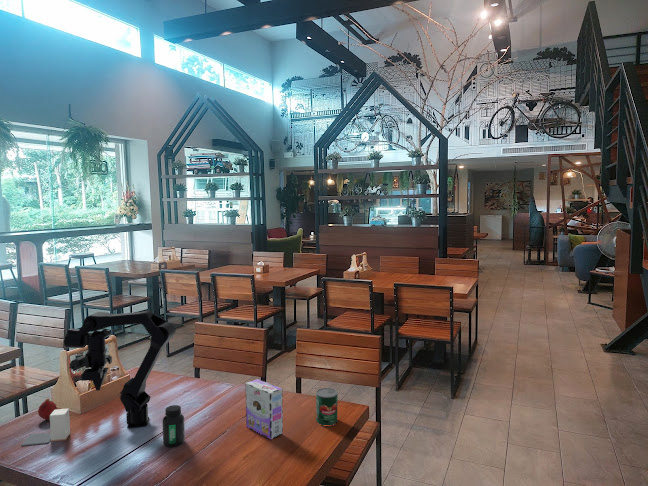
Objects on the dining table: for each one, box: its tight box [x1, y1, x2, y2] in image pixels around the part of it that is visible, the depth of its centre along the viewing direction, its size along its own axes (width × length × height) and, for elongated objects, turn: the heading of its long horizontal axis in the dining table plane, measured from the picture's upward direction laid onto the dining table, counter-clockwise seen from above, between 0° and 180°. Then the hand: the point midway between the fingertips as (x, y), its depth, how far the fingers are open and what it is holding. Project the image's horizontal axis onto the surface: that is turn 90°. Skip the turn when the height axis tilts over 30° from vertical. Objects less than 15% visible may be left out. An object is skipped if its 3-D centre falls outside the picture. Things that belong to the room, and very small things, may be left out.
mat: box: [21, 432, 52, 447], centre depth 153 cm, size 8×7×1 cm
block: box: [49, 407, 71, 442], centre depth 154 cm, size 4×4×9 cm
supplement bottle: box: [162, 404, 186, 449], centre depth 151 cm, size 7×7×12 cm
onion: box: [37, 397, 58, 421], centre depth 167 cm, size 6×6×8 cm
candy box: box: [245, 378, 284, 440], centre depth 159 cm, size 14×6×16 cm, turn 47°
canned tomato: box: [315, 387, 339, 426], centre depth 166 cm, size 8×8×11 cm
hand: (98, 390), depth 164 cm, fingers closed
